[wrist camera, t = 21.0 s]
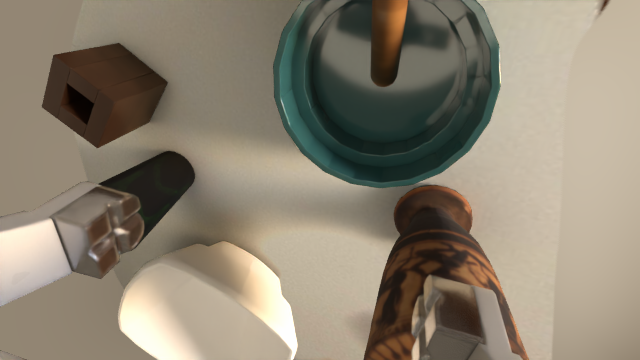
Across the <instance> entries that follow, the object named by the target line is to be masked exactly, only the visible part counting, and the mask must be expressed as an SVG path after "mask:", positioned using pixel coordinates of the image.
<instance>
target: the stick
mask: <svg viewBox="0 0 640 360" xmlns="http://www.w3.org/2000/svg"><path fill="white" fill-rule="evenodd" d="M407 5H408V0H372V33H371V73H370V75H371V79H372V81H373V83H374V84H375V85H377V86H379V87H388V86H390V85H391V84H393V83H394V81H395V80H396V78H397V74H398V67H399V60H400V53H401V47H402V40H403V33H404V26H405V19H406V12H407Z"/></svg>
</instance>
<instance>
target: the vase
mask: <svg viewBox="0 0 640 360" xmlns="http://www.w3.org/2000/svg"><path fill="white" fill-rule="evenodd" d="M394 221H395V226H396V228H397V230H398V232H399V233H400V237H399V238H398V240H397V241H396V242H395V244H394V246H393V248H392V250H391V253H390V255H389V257H388V260H387V263H386V266H385V269H384V272H383V276H382V280H381V284H380V288H379V292H378V297H377V302H376V306H375V310H374V315H373V319H372V323H371V330H370V334H369V339H368V343H367V347H366V351H365V355H364V360H412V355H411V350H412V347H413V345H414V343H415V341H416V339H415V338H414V336H413V335H412V316H413V311H414V307H415V304H416V301H417V299H418V296H420V295H422V294H424V283H425V281H426V279H427V277H428V276H429V275H434V276H438V277H442V278H445V279H449V280H453V281H457V282H461V283H465V284H468V285H473V286H477V287H481V288H485V289H489V290H493V292H494V293H495V294H496V297H497V301H498V304H499V308H500V312H501V315H502V319H503V322H504V326H505V329H506V333H507V337H508V340H509V344H510V347H511V351H512V353H514V354H517V355H519V356H520V357H521V358H522V359H523V360H529V358H528V356H527V354H526V351H525V349H524V346H523V344H522V341H521V339H520V336H519V333H518V330H517V327H516V324H515V322H514V319H513V317H512V314H511V312H510V309H509V307H508V304H507V302H506V299H505V296H504V294H503V291H502V288H501V286H500V283H499V281H498V278H497V276H496V274H495V272H494V270H493V268H492V266H491V264H490V262H489V260H488V258H487V256H486V255H485V253H484V251H483V250H482V248H481V247H480V245H479V244H478V242H477V241H476V240H475V239H474V238H473V237H472V236H471V235H470V234H469V231H470V229H471V227H472V210H471V208H470V206H469V204H468V202H467V201H466V199H465V198H464V197H463V196H461V195H460V194H459V193H457V192H456V191H454V190H452V189H449V188H447V187H442V186H438V185H435V186H432V185H430V186H425V187H418V188H415V189H413V190H412V191H410V192H408V193H407V194H406V195H405V196H404V197H401V198H400V199H399V201H398V203H397V205H396V207H395V210H394Z"/></svg>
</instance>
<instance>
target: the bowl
mask: <svg viewBox="0 0 640 360" xmlns="http://www.w3.org/2000/svg"><path fill="white" fill-rule="evenodd" d="M118 321H119V327H120V330H121V331H122V332H123V333H124V334H125V335H126V336H127V337H129V338H130V339H131V340H132V341H133V342H134V343H135V344H137V345H138V346H139V347H140V348H142V349H143V350H144V351H146V352H147V353H149V354H150V355H151V356H153V357H154V358H156V359H157V360H293V359H294V356H295V353H296V350H297V340H296V334H295V329H294V324H293V318H292V313H291V307H290V305H289V304H288V302H287V301H286V300H285V299H284V298H283V296H282V295H281V287H280V280H279V278H278V277H277V276H276V275H275V274H274V273H273V272H272V271H271V270H270V269H269V268H268V267H267V266H266V265H265V264H264V263H262V262H261V261H260V260H259V259H257V258H256V257H255V256H253V255H251V254H250V253H248V252H247V251H245V250H243V249H241V248H239V247H237V246H235V245H233V244H231V243H229V242H226V241H221V242H218V243H216V244H213V245H211V246H209V247H207V246H205V245H202V244H194V245H191V246H188V247H185V248H183V249H180V250H177V251H174V252H171V253H168V254H165V255H162V256H160V257H158V258H155V259H153V260H151V261H149V262H147V263H146V264H145V265H144V266H143V267H142V268H141V269H139V270H138V271H137V272H136V273H135V275H134V276H133V277H132V279H131V280H130V282H129V283H128V284H127V286H126V287H125V290H124V292H123V295H122V298H121V301H120V307H119V312H118Z"/></svg>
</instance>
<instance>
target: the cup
mask: <svg viewBox="0 0 640 360" xmlns="http://www.w3.org/2000/svg"><path fill="white" fill-rule="evenodd" d="M194 179H195V173H194V170H193V168H192V166H191V164H190V163H189V161H188V160H187V159H186V158H185V157H183V156H182V155H180V154H178V153H176V152H172V151H166V152H163V153H161V154H159V155H157V156H155V157H153V158H151V159H149V160H146V161H144V162H142V163H140V164H138V165H136V166H134V167H132V168H130V169H128V170H126V171H124V172H122V173H120V174H118V175H116V176H114V177H112V178H109V179H107V180H105V181H103V182H101V183H99V184H98V185H102V186H106V187H110V188H113V189H116V190H120V191H123V192H127V193H130V194H133V195H135V196H137V197H139V201H140V205H141V208H140V209H139V210H138V213H139V215H140V216H141V217H142V218H143V220H144V233H143V236H142V238H141V240H140V241H139V243H138V244H137V245H136V246H135V247H134V248H133V249H135V248H136V247H137V246H138V245H139V244H140V242H141V241H142V240H143V239H144V238H145V237H146V236H147V235H148V233H149V232H150V231H151V230H152V229H153V228H154V227H155V226H156V224H157V223H158V222H159V221H160V220H161V219H162V218H163V217H164V215H165V214H166V213H167V212H168V211H169V210H170V209H171V208H172V206H173V205H174V204H175V203H176V202H177V201H178V200H179V199H180V197H181V196H182V195H183V194H184V193H185V192H186V191H187V190H188V188H189V187H190V186H191V185H192V184H193V182H194ZM133 249H132V250H133ZM132 250H131V251H132Z"/></svg>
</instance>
